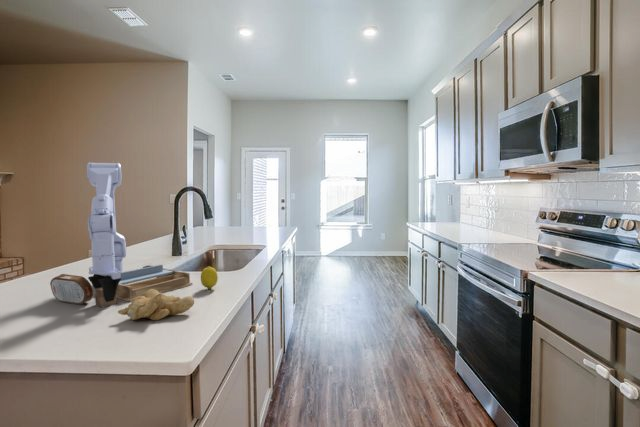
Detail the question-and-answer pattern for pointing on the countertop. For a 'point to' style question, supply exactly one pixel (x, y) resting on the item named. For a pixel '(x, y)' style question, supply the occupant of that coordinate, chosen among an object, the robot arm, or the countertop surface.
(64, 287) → the tin
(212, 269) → the lemon
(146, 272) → the lid
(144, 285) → the wooden tray
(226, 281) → the countertop surface
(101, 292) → the block
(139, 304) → the ginger root
